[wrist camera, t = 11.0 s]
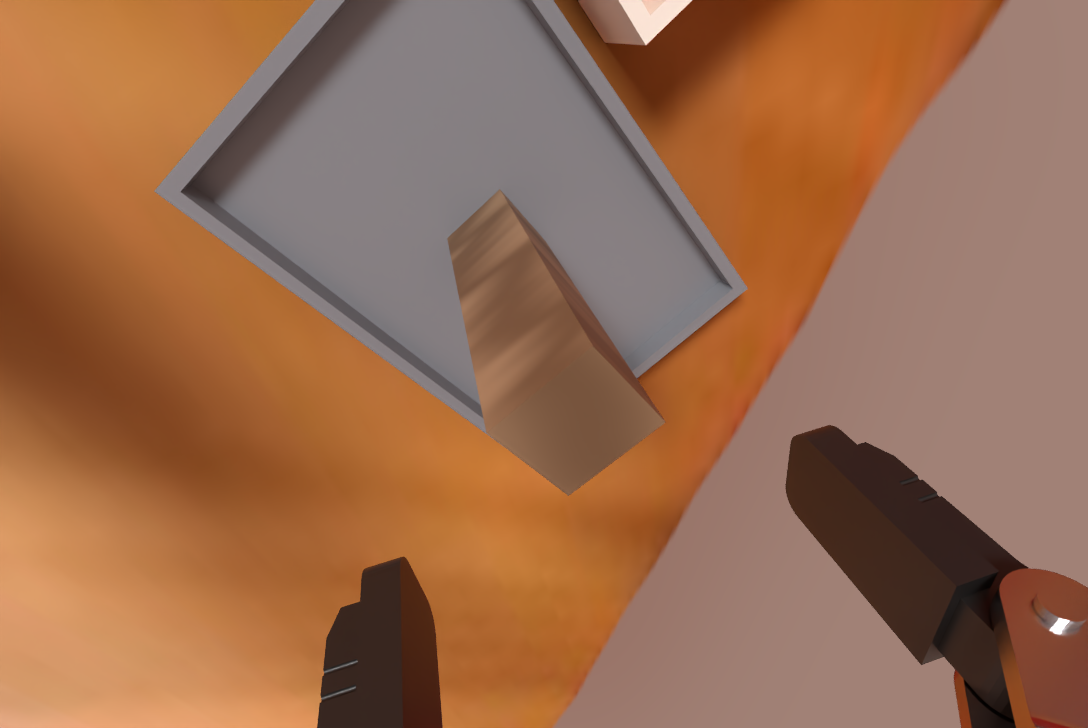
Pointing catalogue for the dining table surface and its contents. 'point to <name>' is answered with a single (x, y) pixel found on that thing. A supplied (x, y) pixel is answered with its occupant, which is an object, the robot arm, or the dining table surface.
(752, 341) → the dining table surface
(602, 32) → the square frame
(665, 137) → the dining table surface
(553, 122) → the tray
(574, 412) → the peg
